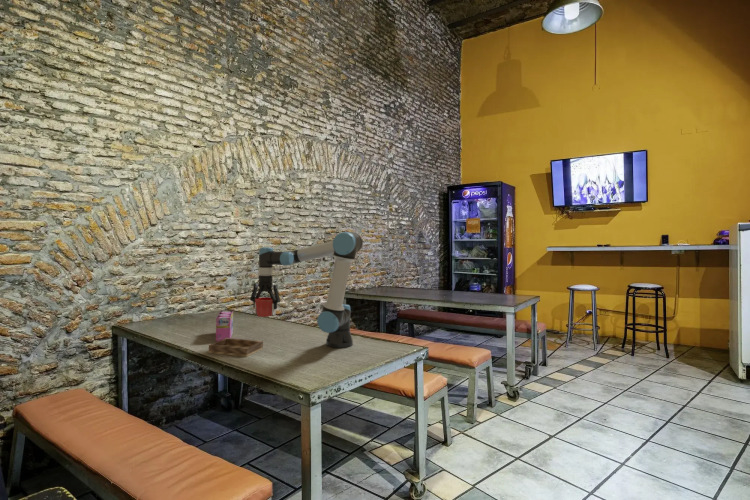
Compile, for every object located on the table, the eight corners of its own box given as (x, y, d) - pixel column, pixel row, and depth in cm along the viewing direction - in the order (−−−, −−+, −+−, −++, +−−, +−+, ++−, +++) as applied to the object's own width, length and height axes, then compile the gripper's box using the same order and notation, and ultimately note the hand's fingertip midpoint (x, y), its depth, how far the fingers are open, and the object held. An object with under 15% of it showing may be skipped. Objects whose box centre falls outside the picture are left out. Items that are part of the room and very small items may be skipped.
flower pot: (268, 313, 243) (268, 296, 243) (278, 316, 236) (278, 298, 235) (251, 315, 236) (251, 298, 236) (261, 318, 228) (261, 300, 228)
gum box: (220, 331, 262) (220, 310, 262) (233, 331, 264) (233, 310, 264) (215, 341, 239) (215, 317, 238) (230, 341, 241) (230, 317, 240)
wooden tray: (262, 348, 226) (263, 341, 226) (246, 356, 211) (246, 348, 210) (227, 345, 232) (227, 337, 231) (208, 352, 216) (208, 345, 216)
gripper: (287, 275, 236) (286, 314, 236) (251, 273, 242) (250, 311, 242) (280, 276, 228) (280, 316, 229) (243, 274, 234) (243, 313, 235)
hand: (265, 314), depth 236 cm, fingers closed on flower pot, 10 cm apart
